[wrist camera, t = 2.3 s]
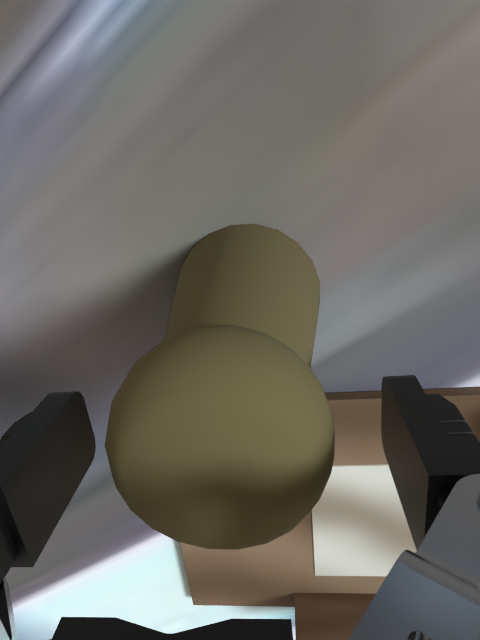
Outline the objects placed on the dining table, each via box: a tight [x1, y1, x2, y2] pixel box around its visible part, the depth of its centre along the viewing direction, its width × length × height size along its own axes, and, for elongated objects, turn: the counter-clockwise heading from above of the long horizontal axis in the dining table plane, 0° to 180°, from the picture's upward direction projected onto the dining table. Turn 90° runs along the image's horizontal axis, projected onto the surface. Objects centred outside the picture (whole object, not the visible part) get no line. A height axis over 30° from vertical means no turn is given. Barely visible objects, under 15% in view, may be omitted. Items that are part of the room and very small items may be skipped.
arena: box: [180, 387, 480, 640], centre depth 21 cm, size 14×18×4 cm
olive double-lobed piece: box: [105, 224, 335, 550], centre depth 14 cm, size 6×6×11 cm
